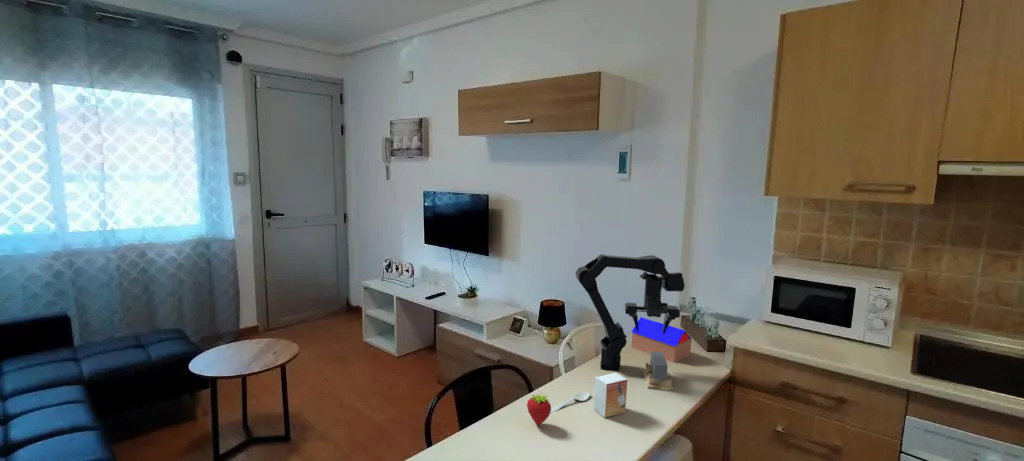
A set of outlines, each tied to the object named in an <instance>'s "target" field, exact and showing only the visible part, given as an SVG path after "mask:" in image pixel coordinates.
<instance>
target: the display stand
mask: <svg viewBox="0 0 1024 461" xmlns="http://www.w3.org/2000/svg"><path fill="white" fill-rule="evenodd" d="M643 374H644V378H645V382H646V386H647V389H648V390H649V389H651V390H660V391H661V390H662V391H669V392H670V391H672V392H673V391H674V387H673V385H672V376H671V375H669V373H668V372H667V380H658V379H654V377H653V373H652V370H651V366H650V363H648V362H646V363H645V368H643Z"/></svg>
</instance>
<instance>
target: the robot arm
mask: <svg viewBox="0 0 1024 461" xmlns="http://www.w3.org/2000/svg"><path fill="white" fill-rule="evenodd" d="M606 268H617V269H618V268H619V269H620V268H621V269H629V270H631V269H632V270H639V271H644V272H643V273H641V274H639V278H640V279H642V280H645V282H644V296H643V297H644V298H643V305H642V306H639V305H638V306H637V303H636V302H625V304H624V313H625V314H626V315H628V316H629V317H631V318H632V319H633V320H632V321H633V322H634V327H636V331H637V332H638V321H639V318H638V312H640V313H646V316H648V317H649V318H651V317H654V318H655V317H656V318H661V317H662V315H663V314H664V318H663V323H662V324H663V334H665V331H666V329H667V327H668V325H669V324H670V323H671V322H672V321H673V320H676V318H677V319H678V318H679V319H680V317H681V310H680V309H679V307H678V306H677V305H668V303H667V302H662V289H663V290H664V291H665V292H680V293H681V292H683V291H684V289H685V286H686V285H685V284H686V283H685V280H684V277H683V273H682V272H681V271H680V272H678V271H677V272H669V271H668V270H667V268H666V264H665V261H664V260H663V259H662V258H660V257H658V256H656V255H653V254H652V255H650V254H649V255H643V256H637V257H634V256H632V257H631V256H622V255H621V256H620V255H607V254H605V253H604V254H603V253H602V254H599V255H598V256H597V257H596V258H594V259H592V260H591V261H589V262H587V263H586V264H585V265H584V266H580V267H578V268H577V269H576V270H575V278H576V279H577V281H578V282H579V283H580V285H581V286H582V287H583V289H584V291H585V292H586V293H587V294H588V296H589V298H590V301H591V303H592V305H593V307H594V309H595V310H596V313H597V315H598V317H599V319H600V321H601V323H602V325H603V328H604V333H605V336H604V337H603V338H602V339H601V340H599V342H600V345H601V354H600V357H601V358H600V364H599V366H600V369H601V370H607V371H620V367H621V358H622V355H621V353H622V350H623V348H625V346H626V344H627V342H628V341H627V338H628V336H627V335H626V334H625V331H624V328H623V327H622V325H621V324H620V322H616V323H615V321H614V320H613V317H612V316H611V313H610V312H609V309H608V307H607V306H606V304H605V302H604V300H603V298H602V297H603V296H602V295H601V293H600V291H599V287H598V283H597V279H596V278H598V277H599V276H600V275H601V274H602V272H603V271H604V270H605V269H606ZM669 326H670V325H669Z"/></svg>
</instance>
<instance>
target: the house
mask: <svg viewBox="0 0 1024 461" xmlns="http://www.w3.org/2000/svg"><path fill="white" fill-rule="evenodd" d="M663 324H664V323H661V322H658V321H656V320H655V321H654V320H651V319H649V318H648V319H647V318H644V317H642V316H640V318H638V332H637V331H636V327H635V326H634V327H633V328H632V330H631V331H630V332H631V333H632V334H631V348H632V349H636V350H638V351H641V352H644V353H647V354H649V355H651V351H654V352H663V355H664V357H665V360H666V361H669V362H671V363H676V362H679V361H682V360H683V359H685V358H688V357H690V356H691V349H692V348H691V346H692V337H691V336H690V335H689V333H688V332H687V330H685V329H681V328H678V327H675V326H672V325H668V327H667V329H666V331H665V334H663Z"/></svg>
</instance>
